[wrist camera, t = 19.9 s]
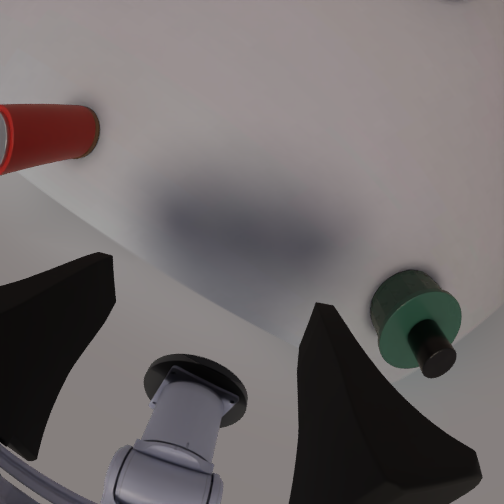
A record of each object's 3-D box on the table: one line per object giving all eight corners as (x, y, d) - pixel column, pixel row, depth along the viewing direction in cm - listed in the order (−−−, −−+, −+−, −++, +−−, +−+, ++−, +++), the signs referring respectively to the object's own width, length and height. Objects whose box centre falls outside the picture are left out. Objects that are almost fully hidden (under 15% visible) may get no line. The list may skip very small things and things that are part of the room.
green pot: (403, 343, 22) (416, 371, 19) (355, 315, 21) (364, 344, 18) (448, 292, 20) (468, 314, 17) (403, 255, 19) (422, 277, 16)
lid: (413, 369, 20) (430, 408, 16) (357, 339, 19) (369, 383, 15) (469, 308, 17) (496, 342, 13) (418, 266, 17) (449, 301, 13)
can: (83, 166, 19) (0, 189, 11) (50, 146, 18) (-30, 162, 11) (103, 116, 17) (17, 117, 10) (68, 98, 17) (-15, 97, 9)
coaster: (88, 166, 19) (84, 167, 19) (55, 146, 19) (51, 147, 18) (107, 117, 18) (104, 117, 17) (72, 99, 17) (68, 99, 17)
